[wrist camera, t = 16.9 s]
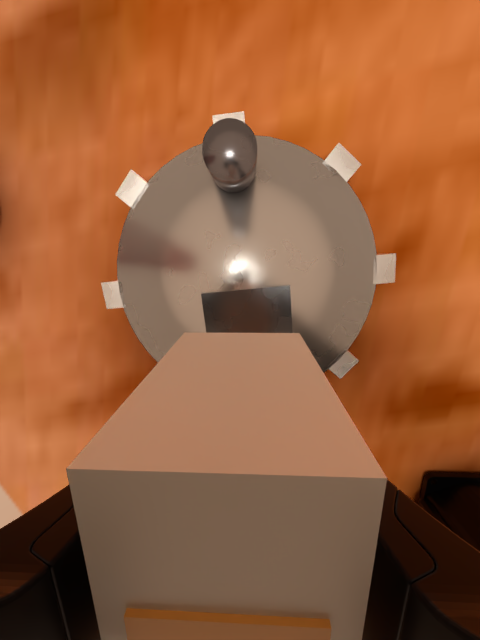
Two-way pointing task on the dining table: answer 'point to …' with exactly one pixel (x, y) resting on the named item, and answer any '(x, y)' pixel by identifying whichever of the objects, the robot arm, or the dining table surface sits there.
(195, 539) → the link block
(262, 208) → the sprocket
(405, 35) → the dining table surface
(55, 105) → the dining table surface
